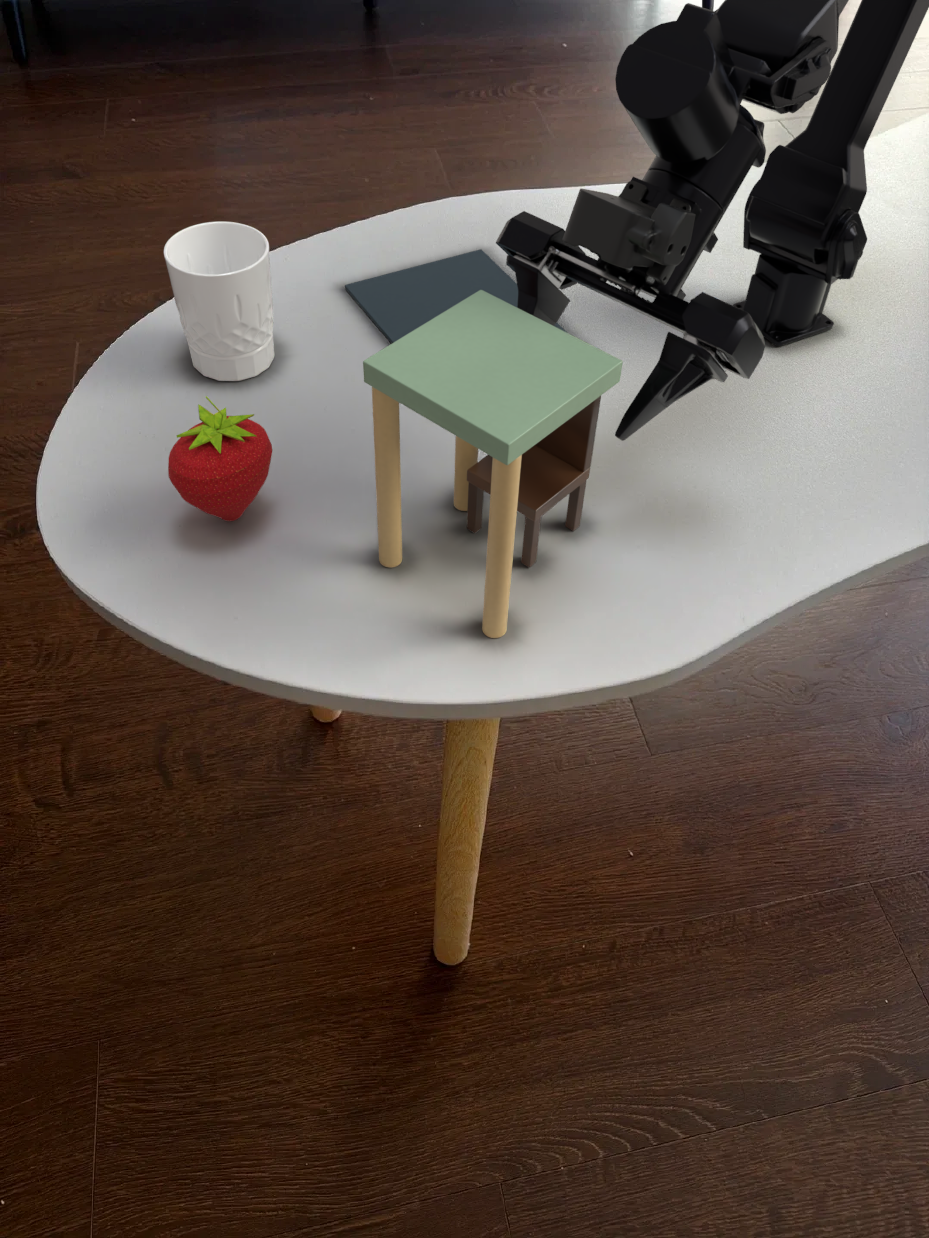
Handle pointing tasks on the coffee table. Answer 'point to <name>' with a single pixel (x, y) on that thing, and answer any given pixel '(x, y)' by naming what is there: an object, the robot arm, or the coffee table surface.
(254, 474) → the strawberry
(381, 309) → the mat
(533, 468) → the chair
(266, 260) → the white cup
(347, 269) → the coffee table surface
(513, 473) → the side table
